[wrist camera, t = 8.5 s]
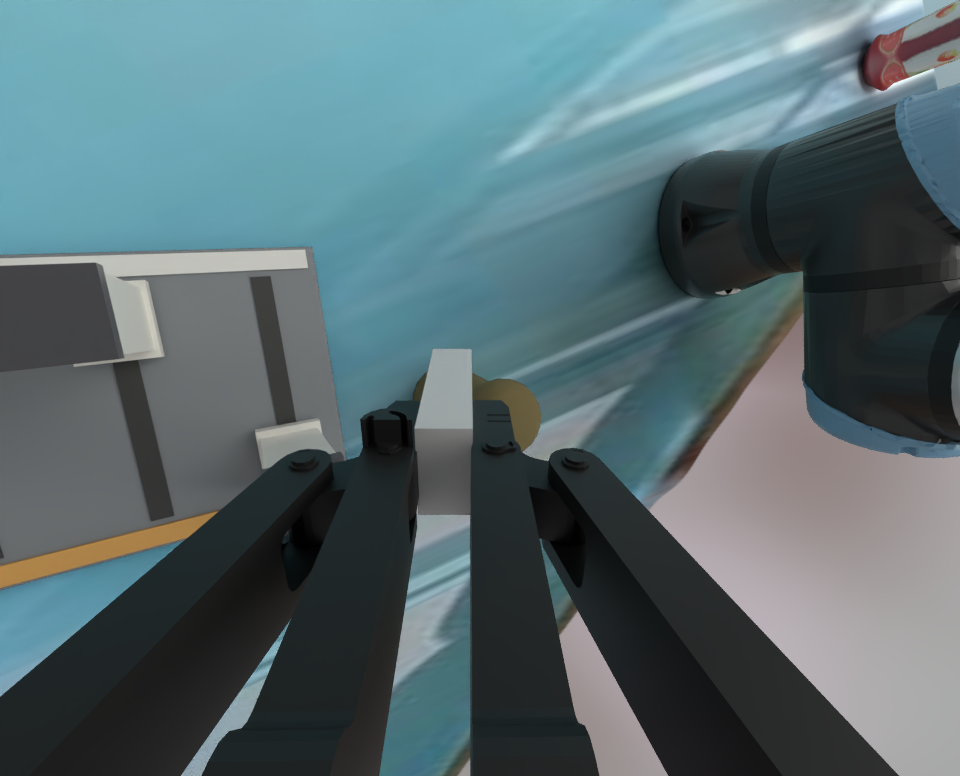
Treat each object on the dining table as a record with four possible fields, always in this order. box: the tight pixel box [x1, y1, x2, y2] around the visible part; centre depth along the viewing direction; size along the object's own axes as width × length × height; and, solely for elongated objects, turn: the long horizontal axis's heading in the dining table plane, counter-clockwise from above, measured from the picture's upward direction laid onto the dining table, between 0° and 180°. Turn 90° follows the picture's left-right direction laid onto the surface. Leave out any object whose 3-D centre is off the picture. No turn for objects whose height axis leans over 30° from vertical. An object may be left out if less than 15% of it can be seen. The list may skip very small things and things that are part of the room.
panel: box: [0, 247, 346, 590], centre depth 27 cm, size 18×23×1 cm
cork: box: [413, 372, 541, 452], centre depth 33 cm, size 6×6×11 cm
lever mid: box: [0, 263, 165, 372], centre depth 21 cm, size 4×4×10 cm
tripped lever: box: [255, 418, 344, 535], centre depth 26 cm, size 4×4×10 cm
